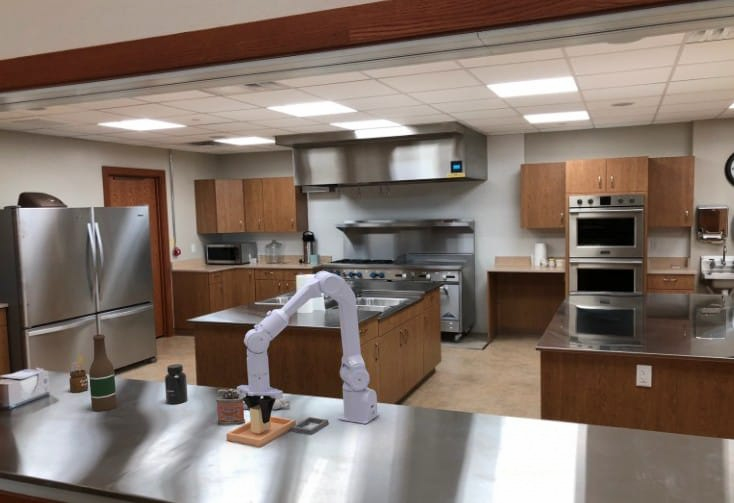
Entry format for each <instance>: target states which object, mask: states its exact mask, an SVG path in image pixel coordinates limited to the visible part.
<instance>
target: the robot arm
mask: <svg viewBox="0 0 734 503" xmlns="http://www.w3.org/2000/svg"><path fill="white" fill-rule="evenodd" d="M322 294H324V295H325V296H327V297H330V298H331V299H333V300H334V301H336V302H337V305H338V314H339V323H340V324H339V325H340V336H341V345H342V357H341V366H340V370H339V377H340V378H341V380H342V381H343V385H342V400H343V414H342V415H340V416H338V420H339V421H346V422H353V423H358V424H363V425H364V424H365V425H366V424H368V423H369V422H371V421H373V420H374V419H375V418H377V417H378V416H379V415H380V414H379V413H378V396H377V392H376V391H375V390H374V389H371V388H369V387H368V385H369V383H370V374H369V372H368V370H367V369H366V363H365V361H364V358H363V356H362V353H361V352H362V351H361V340H360V331H359V321H358V319H359V318H358V310H357V300H356V294H355V293H354V291H353V290H352V288H351V287H350V286H349V284H347V282H346V280H345V278H343V277H341V276H340V275H338V274H336V273H333V272H329V271H326V270H321V271H320V270H319V271H318V272H316V273H315V274H314V276H313V277H310V278H309V279H307V281H306V282H305V284H303V285H302V286H301V288H299V290H297V292H296V293H295V294H294V295H293V296H292V297H291V298H290V299H288V301H287V302H286V303H285V304H284V305H283V306H282V307H281V308H278V309H277V308H275V309H273V310H272V311H271V310H268V312H267V313H266V316H265V317H264V318H263V319H262V320H261V321H260V322H259V324H255V325H253V327H254V328H253V329H250V330H248V331H247V332H246V334H245V335H244V336H245V337H244V339H243V343H244V345H245V347H247V348H246V356H247V357H246V366H247V368H246V370H247V380H248V381H247V382H248V383H247V384H248V385H247V384H245V385H244V384H241V385H239V386H236V390H237V394H239V395H241V394H244V395H245V396H243V402H245V404H246V405H247V407H248V409H247V410H248V411H249V412H250V408H252V407H254V406H256V405H258V404H259V405H260V408H261V412H262V420H263V423H264V424H266V423H267V422H269V421H270V416H272V415H271V414H272V411H273V410H272V408H273V405H274V403H275V401H276V400H279V399H280V400H282V399H283V398H284V394H283V390H281V389H278V388H273V387H271V386H270V370H269V369H270V368H269V356H268V348H269V347H270V342H271V341H273V339H275V337H277V336H278V335H279V334H280V333H281V332H282V331H283V330H284V329H285V328H286V327H288V325H289V322H290V320H289V319H290V317H291V316H292V315H294V314H295V313H296V312H297V311H298V310H299V309H300V308H302V306H304V305H305V304H307V302H309V301H310V300H312V299H316V298H317V299H319V298H322V297H323V295H322Z"/></svg>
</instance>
